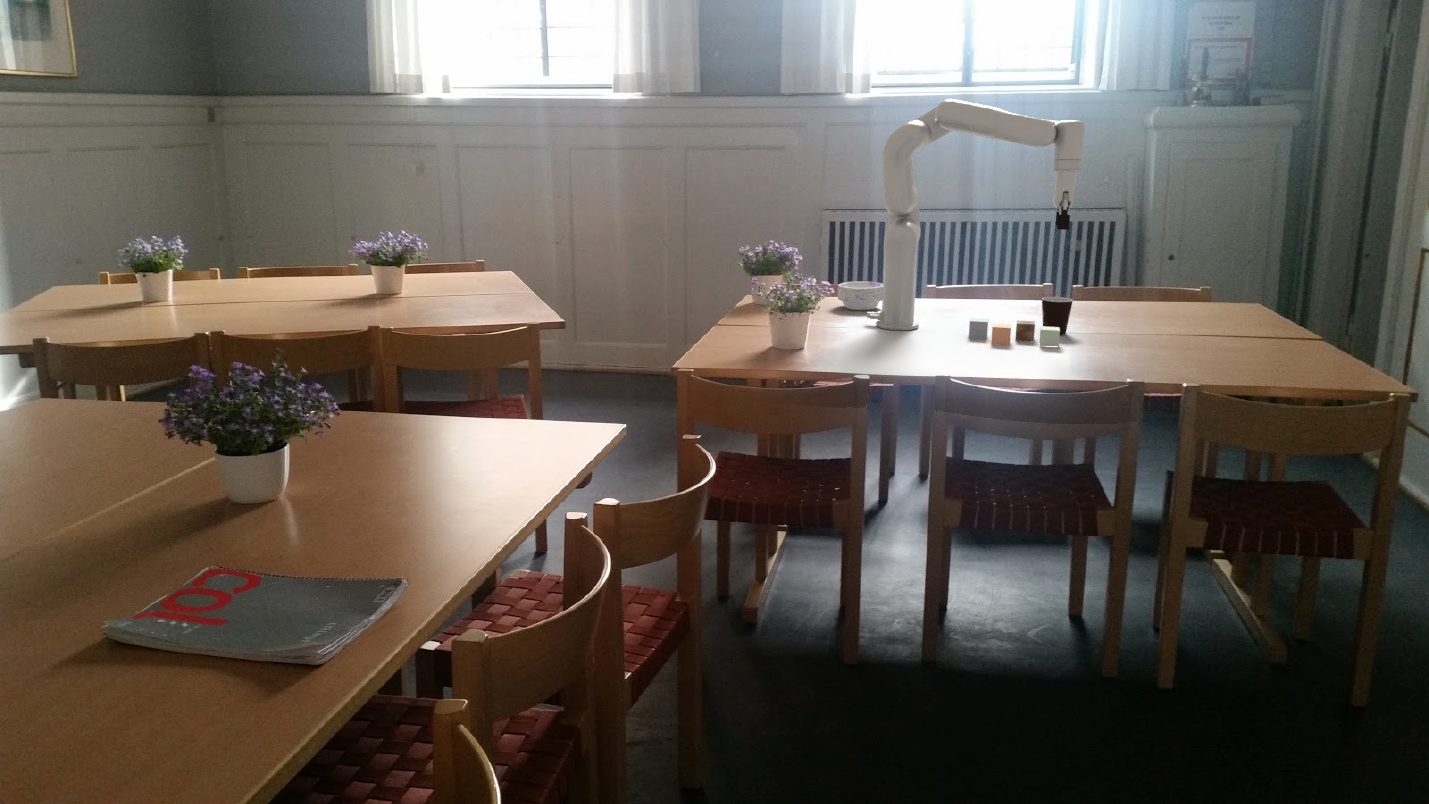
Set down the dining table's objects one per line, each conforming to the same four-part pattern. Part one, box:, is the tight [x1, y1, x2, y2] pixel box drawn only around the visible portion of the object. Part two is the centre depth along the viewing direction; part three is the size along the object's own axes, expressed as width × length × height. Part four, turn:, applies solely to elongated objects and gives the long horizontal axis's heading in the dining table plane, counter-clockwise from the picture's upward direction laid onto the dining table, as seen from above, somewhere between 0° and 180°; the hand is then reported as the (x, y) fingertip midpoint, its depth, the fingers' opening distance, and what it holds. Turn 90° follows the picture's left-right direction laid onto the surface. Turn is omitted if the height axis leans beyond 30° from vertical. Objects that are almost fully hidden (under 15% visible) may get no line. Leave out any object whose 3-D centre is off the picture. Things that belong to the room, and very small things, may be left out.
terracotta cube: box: [990, 323, 1012, 346], centre depth 311 cm, size 5×5×5 cm
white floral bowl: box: [837, 281, 883, 311], centre depth 362 cm, size 15×15×8 cm
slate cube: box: [968, 317, 989, 340], centre depth 319 cm, size 5×5×5 cm
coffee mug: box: [1041, 296, 1074, 336], centre depth 325 cm, size 12×9×10 cm
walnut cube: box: [1015, 319, 1036, 342], centre depth 316 cm, size 5×5×5 cm
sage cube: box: [1039, 325, 1061, 348], centre depth 308 cm, size 5×5×5 cm
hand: (1061, 227), depth 314 cm, fingers open, 9 cm apart
